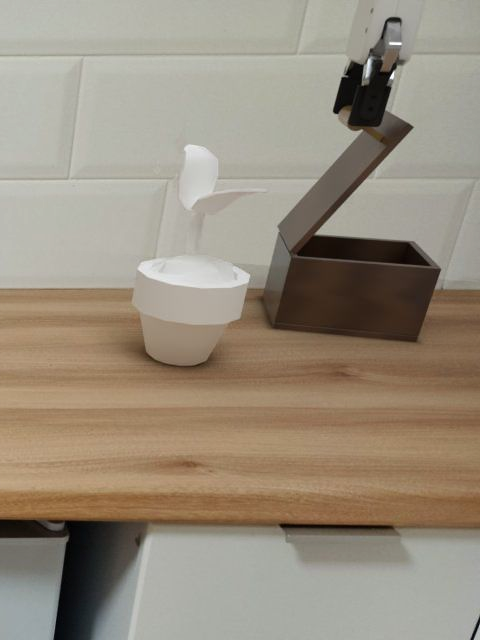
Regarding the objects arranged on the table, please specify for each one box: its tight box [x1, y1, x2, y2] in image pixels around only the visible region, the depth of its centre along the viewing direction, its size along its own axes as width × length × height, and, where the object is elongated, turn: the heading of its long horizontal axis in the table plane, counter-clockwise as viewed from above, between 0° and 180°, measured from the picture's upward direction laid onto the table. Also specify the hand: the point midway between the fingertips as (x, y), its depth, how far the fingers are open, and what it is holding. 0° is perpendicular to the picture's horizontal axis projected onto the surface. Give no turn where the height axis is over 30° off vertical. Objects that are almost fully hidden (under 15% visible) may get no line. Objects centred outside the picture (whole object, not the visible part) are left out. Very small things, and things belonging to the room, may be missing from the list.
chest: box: [262, 231, 442, 343], centre depth 109 cm, size 16×13×9 cm
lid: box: [276, 105, 415, 255], centre depth 104 cm, size 17×13×5 cm
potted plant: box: [131, 123, 269, 367], centre depth 93 cm, size 13×12×25 cm
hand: (354, 119), depth 101 cm, fingers open, 9 cm apart
